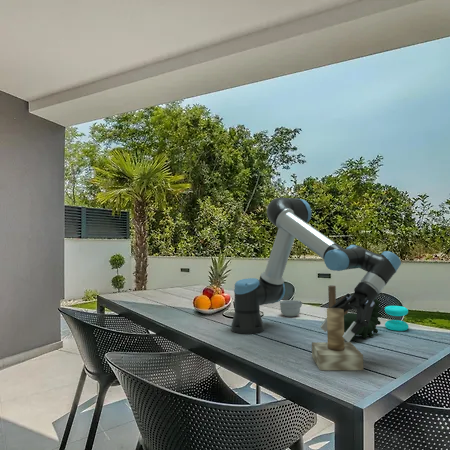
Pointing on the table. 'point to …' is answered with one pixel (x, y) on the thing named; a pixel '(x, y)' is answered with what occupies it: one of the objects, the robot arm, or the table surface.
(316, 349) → the birch socket block
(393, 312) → the cyan spool
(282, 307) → the teacup
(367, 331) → the toy figurine
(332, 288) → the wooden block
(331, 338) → the oak peg
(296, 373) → the table surface
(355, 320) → the robot arm
